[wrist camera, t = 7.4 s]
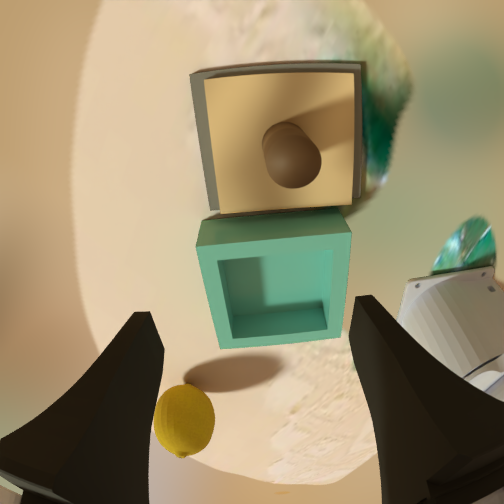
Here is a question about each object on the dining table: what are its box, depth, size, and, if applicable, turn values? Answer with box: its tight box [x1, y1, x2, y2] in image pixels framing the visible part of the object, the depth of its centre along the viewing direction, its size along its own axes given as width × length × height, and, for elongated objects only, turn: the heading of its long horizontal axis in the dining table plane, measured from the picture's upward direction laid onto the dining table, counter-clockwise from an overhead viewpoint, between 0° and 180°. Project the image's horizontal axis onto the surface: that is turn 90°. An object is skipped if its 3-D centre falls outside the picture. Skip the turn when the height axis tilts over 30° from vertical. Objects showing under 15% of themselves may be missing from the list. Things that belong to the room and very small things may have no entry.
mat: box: [189, 63, 362, 211], centre depth 17 cm, size 9×8×1 cm
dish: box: [196, 208, 352, 349], centre depth 21 cm, size 8×8×3 cm
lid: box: [204, 72, 354, 214], centre depth 15 cm, size 8×8×4 cm
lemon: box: [154, 383, 215, 458], centre depth 26 cm, size 6×6×8 cm
